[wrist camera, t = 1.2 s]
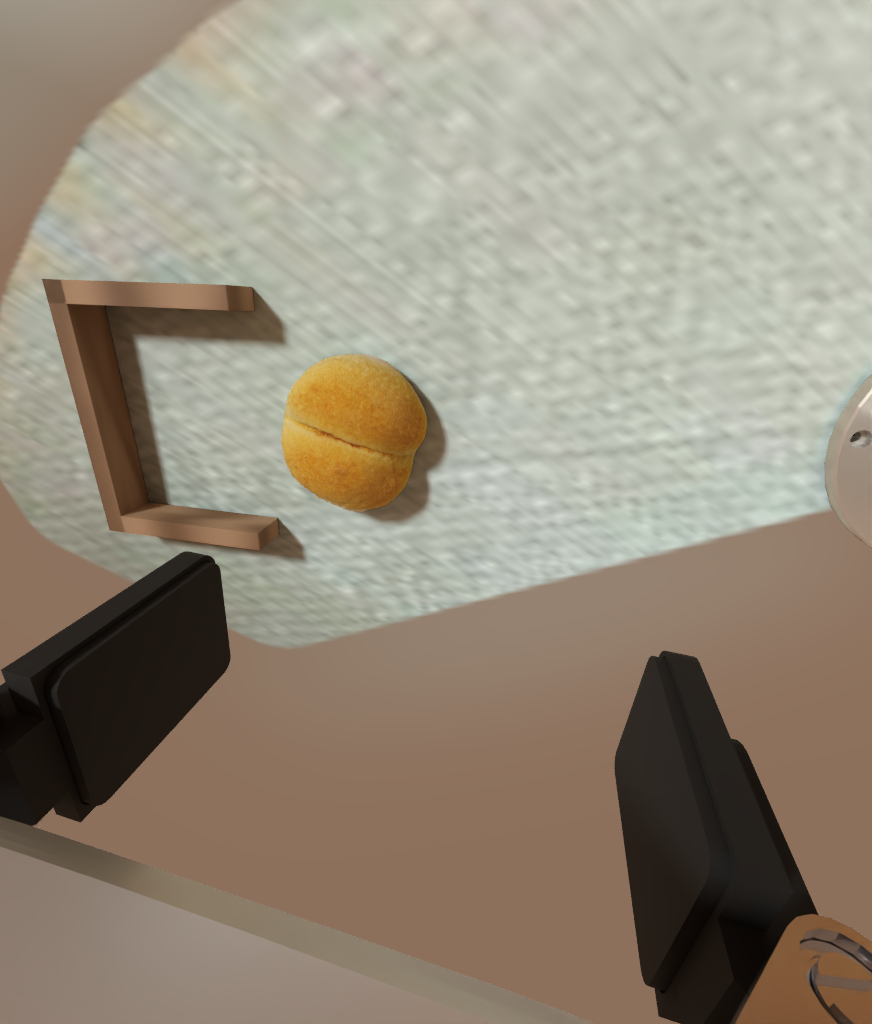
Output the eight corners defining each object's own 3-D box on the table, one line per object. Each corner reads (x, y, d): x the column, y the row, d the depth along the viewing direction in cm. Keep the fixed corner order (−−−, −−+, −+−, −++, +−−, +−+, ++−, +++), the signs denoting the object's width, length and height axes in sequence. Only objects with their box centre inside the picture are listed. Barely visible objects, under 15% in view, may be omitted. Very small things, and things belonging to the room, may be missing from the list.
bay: (252, 287, 26) (225, 285, 24) (279, 533, 32) (259, 550, 30) (81, 281, 28) (42, 279, 26) (137, 515, 34) (109, 530, 32)
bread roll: (446, 382, 27) (432, 393, 23) (397, 514, 30) (378, 542, 27) (313, 326, 27) (278, 329, 23) (281, 464, 31) (247, 485, 27)
